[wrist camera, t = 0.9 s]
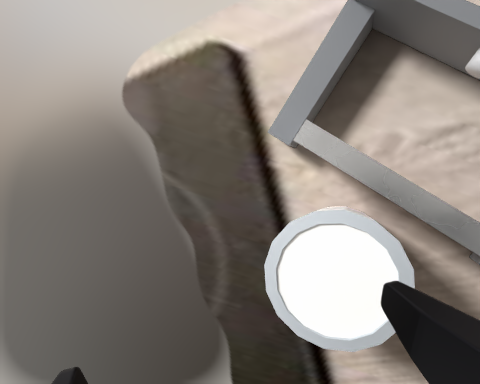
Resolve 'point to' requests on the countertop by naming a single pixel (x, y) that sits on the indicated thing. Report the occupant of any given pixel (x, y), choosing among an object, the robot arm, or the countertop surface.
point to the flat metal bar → (392, 186)
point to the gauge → (395, 26)
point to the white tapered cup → (335, 277)
